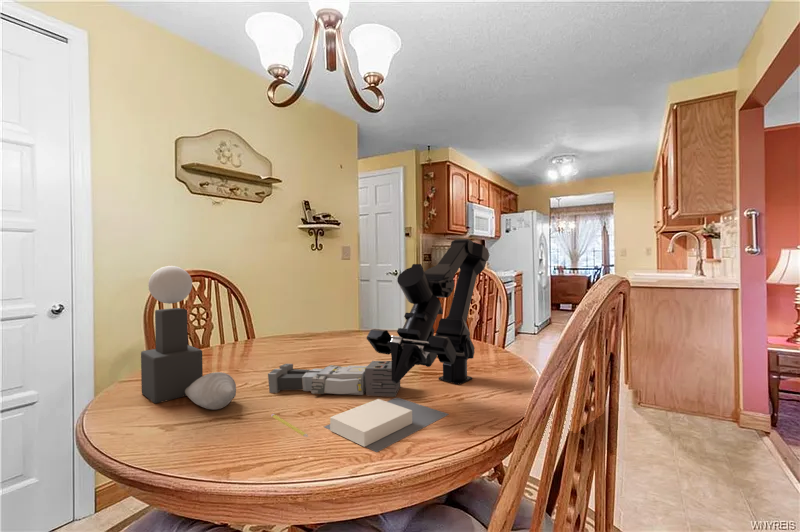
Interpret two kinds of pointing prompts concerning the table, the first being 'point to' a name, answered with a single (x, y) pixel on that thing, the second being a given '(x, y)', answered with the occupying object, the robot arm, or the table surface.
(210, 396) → the seashell
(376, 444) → the mat
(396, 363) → the robot arm
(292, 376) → the toy figure
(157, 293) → the sculpture
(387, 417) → the cream rectangular block
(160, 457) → the table surface
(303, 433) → the pencil
